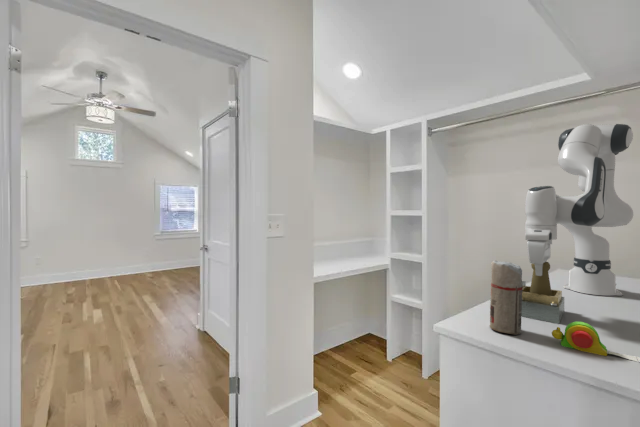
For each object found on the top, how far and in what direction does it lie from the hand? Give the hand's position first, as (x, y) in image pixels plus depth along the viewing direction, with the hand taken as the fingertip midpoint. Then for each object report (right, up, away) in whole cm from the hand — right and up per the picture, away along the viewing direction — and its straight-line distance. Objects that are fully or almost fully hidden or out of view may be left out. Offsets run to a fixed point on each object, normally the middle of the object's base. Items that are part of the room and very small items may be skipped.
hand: (540, 274), depth 104 cm
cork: (0, -6, 0) cm, 7 cm away
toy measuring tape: (-6, -14, -29) cm, 32 cm away
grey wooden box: (0, -13, 0) cm, 13 cm away
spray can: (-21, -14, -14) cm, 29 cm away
